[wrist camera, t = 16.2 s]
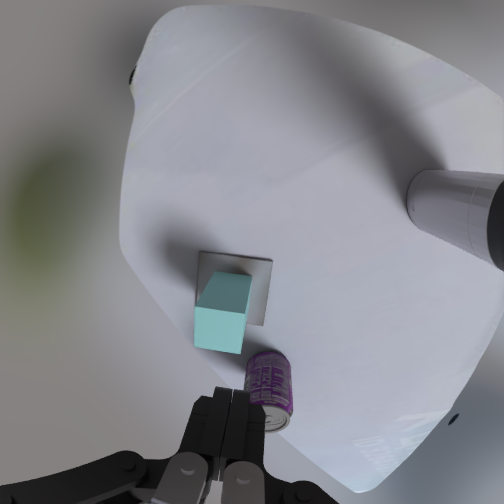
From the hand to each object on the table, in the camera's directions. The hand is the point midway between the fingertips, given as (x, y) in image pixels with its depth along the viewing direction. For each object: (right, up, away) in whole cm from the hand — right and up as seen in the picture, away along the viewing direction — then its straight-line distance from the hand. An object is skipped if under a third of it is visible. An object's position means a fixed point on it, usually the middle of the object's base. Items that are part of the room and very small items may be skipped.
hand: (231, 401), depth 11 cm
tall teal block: (-2, +1, +28) cm, 28 cm away
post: (-2, +1, +28) cm, 28 cm away
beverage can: (+4, -12, +32) cm, 34 cm away
